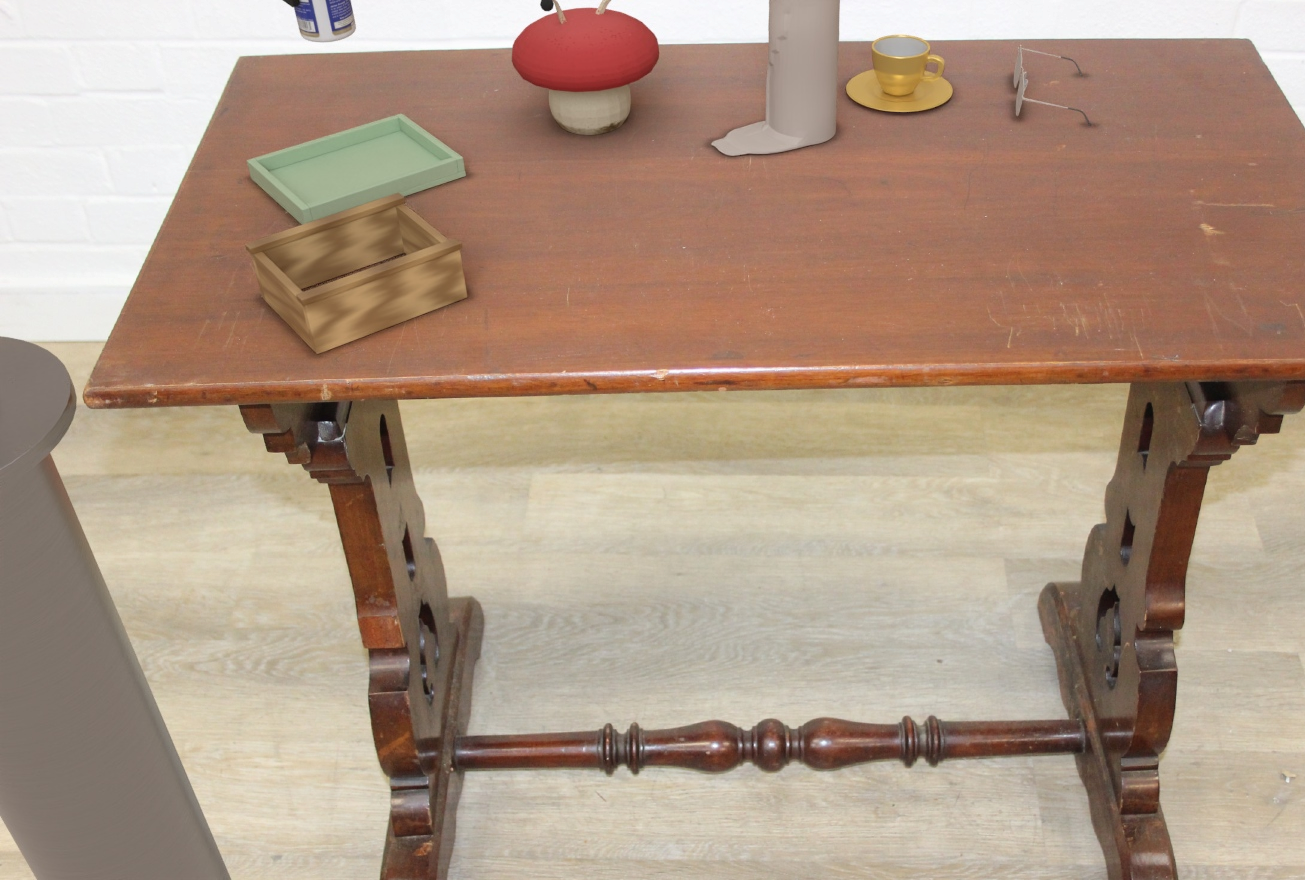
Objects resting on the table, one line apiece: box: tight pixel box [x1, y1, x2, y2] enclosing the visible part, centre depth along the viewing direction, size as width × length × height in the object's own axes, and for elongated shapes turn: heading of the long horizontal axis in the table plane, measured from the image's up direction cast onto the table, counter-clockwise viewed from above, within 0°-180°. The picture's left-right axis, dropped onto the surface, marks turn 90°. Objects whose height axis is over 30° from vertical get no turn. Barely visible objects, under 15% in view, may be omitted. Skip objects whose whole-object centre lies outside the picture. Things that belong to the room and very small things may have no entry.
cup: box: [845, 34, 954, 113], centre depth 157 cm, size 12×12×5 cm
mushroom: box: [511, 0, 660, 136], centre depth 149 cm, size 16×16×15 cm
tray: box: [246, 113, 467, 225], centre depth 144 cm, size 18×14×2 cm
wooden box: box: [244, 193, 468, 355], centre depth 124 cm, size 15×12×6 cm
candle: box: [710, 0, 841, 157], centre depth 144 cm, size 7×14×20 cm, turn 116°
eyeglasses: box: [1013, 44, 1093, 126], centre depth 156 cm, size 14×8×4 cm, turn 173°
